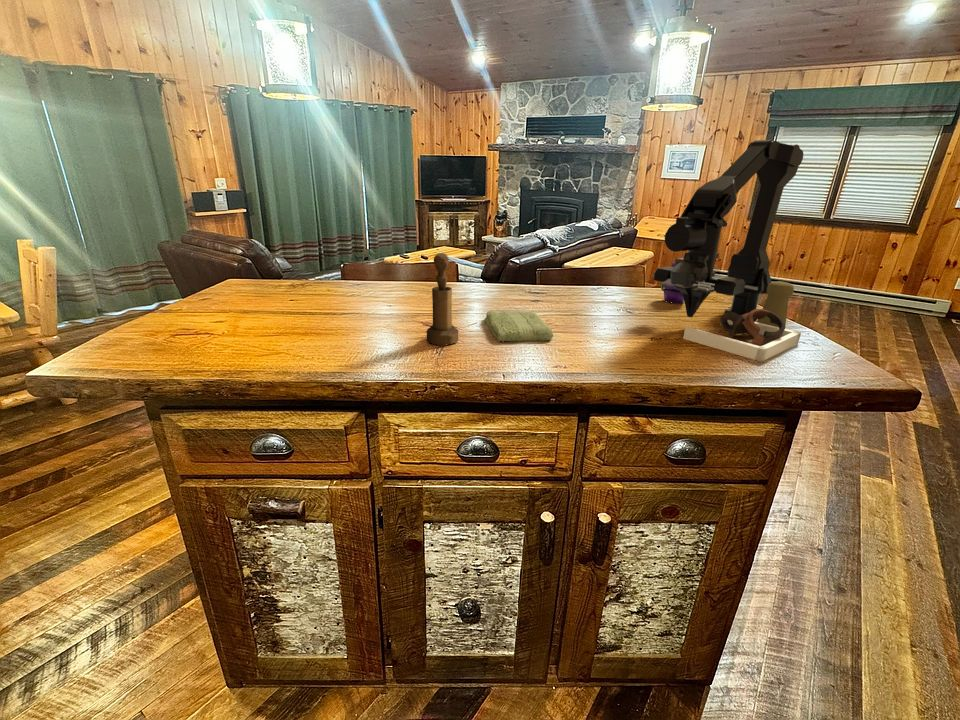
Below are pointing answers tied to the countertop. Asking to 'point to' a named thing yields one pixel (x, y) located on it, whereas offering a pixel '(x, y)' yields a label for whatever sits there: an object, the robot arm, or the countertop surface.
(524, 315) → the washcloth
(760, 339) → the brown looped piece
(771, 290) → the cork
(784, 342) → the cream bay
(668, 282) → the potion bottle
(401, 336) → the countertop surface
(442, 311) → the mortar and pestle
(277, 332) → the countertop surface
